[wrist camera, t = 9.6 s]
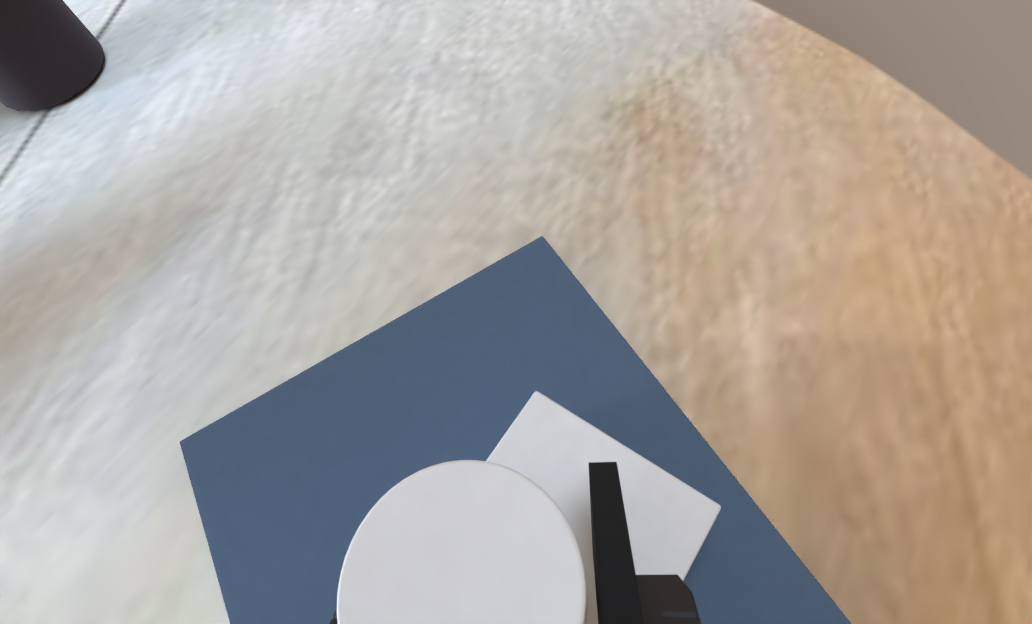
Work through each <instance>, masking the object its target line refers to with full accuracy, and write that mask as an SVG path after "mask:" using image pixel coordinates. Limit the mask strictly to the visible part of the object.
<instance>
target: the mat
mask: <svg viewBox="0 0 1032 624" xmlns="http://www.w3.org/2000/svg"><path fill="white" fill-rule="evenodd" d="M536 391H538V392H540V393H541V394H543V395H545V396H546V397H548V398H549V399H551V400H553V401H554V402H556V403H557V404H559V405H561V406H562V407H564V408H565V409H567V410H569V411H570V412H572V413H573V414H575V415H577V416H578V417H580V418H581V419H583V420H585V421H586V422H588V423H589V424H591V425H593V426H594V427H596V428H597V429H599V430H601V431H602V432H604V433H605V434H607V435H609V436H610V437H612V438H613V439H615V440H617V441H618V442H620V443H621V444H623V445H625V446H626V447H628V448H629V449H631V450H633V451H634V452H636V453H637V454H639V455H641V456H642V457H644V458H645V459H647V460H649V461H650V462H652V463H653V464H655V465H657V466H658V467H660V468H661V469H663V470H665V471H666V472H668V473H669V474H671V475H673V476H674V477H676V478H677V479H679V480H681V481H682V482H684V483H685V484H687V485H689V486H690V487H692V488H693V489H695V490H697V491H698V492H700V493H701V494H703V495H705V496H706V497H708V498H709V499H711V500H713V501H714V502H716V503H717V504H719V505H720V506H721V510H720V512H719V514H718V516H717V518H716V520H715V521H714V523H713V525H712V527H711V529H710V531H709V533H708V535H707V537H706V539H705V541H704V542H703V544H702V546H701V548H700V550H699V552H698V554H697V556H696V558H695V560H694V561H693V563H692V565H691V567H690V569H689V571H688V573H687V575H686V577H685V579H684V581H683V582H684V583H685V584H686V585H687V587H688V588H689V589H690V590H691V592H692V593H693V596H694V600H695V603H696V607H697V610H698V614H699V618H700V621H701V624H851V623H850V622H849V620H848V619H847V618H846V617H845V615H844V614H843V613H842V611H841V610H840V609H839V608H838V606H837V605H836V604H835V603H834V601H833V600H832V599H831V598H830V596H829V595H828V594H827V593H826V591H825V590H824V589H823V588H822V586H821V585H820V584H819V583H818V581H817V580H816V579H815V578H814V576H813V575H812V574H811V573H810V571H809V570H808V569H807V568H806V566H805V565H804V564H803V563H802V561H801V560H800V559H799V557H798V556H797V555H796V554H795V552H794V551H793V550H792V549H791V547H790V546H789V545H788V544H787V542H786V541H785V540H784V539H783V537H782V536H781V535H780V534H779V532H778V531H777V530H776V529H775V527H774V526H773V525H772V524H771V522H770V521H769V520H768V519H767V517H766V516H765V515H764V514H763V512H762V511H761V510H760V509H759V507H758V506H757V505H756V503H755V502H754V501H753V500H752V498H751V497H750V496H749V495H748V493H747V492H746V491H745V490H744V488H743V487H742V486H741V485H740V483H739V482H738V481H737V480H736V478H735V477H734V476H733V475H732V473H731V472H730V471H729V470H728V468H727V467H726V466H725V465H724V463H723V462H722V461H721V460H720V458H719V457H718V456H717V455H716V453H715V452H714V451H713V450H712V448H711V447H710V446H709V444H708V443H707V442H706V441H705V439H704V438H703V437H702V436H701V434H700V433H699V432H698V431H697V429H696V428H695V427H694V426H693V424H692V423H691V422H690V421H689V419H688V418H687V417H686V416H685V414H684V413H683V412H682V411H681V409H680V408H679V407H678V406H677V404H676V403H675V402H674V401H673V399H672V398H671V397H670V396H669V394H668V393H667V392H666V390H665V389H664V388H663V387H662V385H661V384H660V383H659V382H658V380H657V379H656V378H655V377H654V375H653V374H652V373H651V372H650V370H649V369H648V368H647V367H646V365H645V364H644V363H643V362H642V360H641V359H640V358H639V357H638V355H637V354H636V353H635V352H634V350H633V349H632V348H631V347H630V345H629V344H628V343H627V342H626V340H625V339H624V338H623V336H622V335H621V334H620V333H619V331H618V330H617V329H616V328H615V326H614V325H613V324H612V323H611V321H610V320H609V319H608V318H607V316H606V315H605V314H604V313H603V311H602V310H601V309H600V308H599V306H598V305H597V304H596V303H595V301H594V300H593V299H592V298H591V296H590V295H589V294H588V293H587V291H586V290H585V289H584V288H583V286H582V285H581V284H580V282H579V281H578V280H577V279H576V277H575V276H574V275H573V274H572V272H571V271H570V270H569V269H568V267H567V266H566V265H565V264H564V262H563V261H562V260H561V259H560V257H559V256H558V255H557V254H556V252H555V251H554V250H553V249H552V247H551V246H550V245H549V244H548V242H547V241H546V240H545V239H544V237H543V236H542V237H540V238H538V239H536V240H534V241H533V242H531V243H529V244H527V245H526V246H524V247H522V248H520V249H519V250H517V251H515V252H513V253H512V254H510V255H508V256H506V257H504V258H503V259H501V260H499V261H497V262H496V263H494V264H492V265H490V266H489V267H487V268H485V269H483V270H482V271H480V272H478V273H476V274H475V275H473V276H471V277H469V278H467V279H466V280H464V281H462V282H460V283H459V284H457V285H455V286H453V287H452V288H450V289H448V290H446V291H445V292H443V293H441V294H439V295H437V296H436V297H434V298H432V299H430V300H429V301H427V302H425V303H423V304H422V305H420V306H418V307H416V308H415V309H413V310H411V311H409V312H408V313H406V314H404V315H402V316H400V317H399V318H397V319H395V320H393V321H392V322H390V323H388V324H386V325H385V326H383V327H381V328H379V329H378V330H376V331H374V332H372V333H370V334H369V335H367V336H365V337H363V338H362V339H360V340H358V341H356V342H355V343H353V344H351V345H349V346H348V347H346V348H344V349H342V350H341V351H339V352H337V353H335V354H333V355H332V356H330V357H328V358H326V359H325V360H323V361H321V362H319V363H318V364H316V365H314V366H312V367H311V368H309V369H307V370H305V371H303V372H302V373H300V374H298V375H296V376H295V377H293V378H291V379H289V380H288V381H286V382H284V383H282V384H281V385H279V386H277V387H275V388H274V389H272V390H270V391H268V392H266V393H265V394H263V395H261V396H259V397H258V398H256V399H254V400H252V401H251V402H249V403H247V404H245V405H244V406H242V407H240V408H238V409H236V410H235V411H233V412H231V413H229V414H228V415H226V416H224V417H222V418H221V419H219V420H217V421H215V422H214V423H212V424H210V425H208V426H207V427H205V428H203V429H201V430H199V431H198V432H196V433H194V434H192V435H191V436H189V437H187V438H185V439H184V440H182V441H180V444H181V448H182V452H183V455H184V459H185V462H186V466H187V470H188V473H189V477H190V480H191V484H192V487H193V491H194V495H195V498H196V502H197V505H198V509H199V513H200V516H201V520H202V523H203V527H204V530H205V534H206V538H207V541H208V545H209V548H210V552H211V556H212V559H213V563H214V566H215V570H216V574H217V577H218V581H219V584H220V588H221V591H222V595H223V599H224V602H225V606H226V609H227V613H228V617H229V620H230V624H329V623H330V621H331V619H333V615H334V613H335V611H336V609H337V592H338V585H339V579H340V574H341V570H342V566H343V563H344V559H345V556H346V553H347V551H348V548H349V546H350V543H351V541H352V539H353V537H354V535H355V533H356V531H357V529H358V527H359V526H360V524H361V523H362V521H363V520H364V518H365V517H366V515H367V514H368V512H369V511H370V510H371V509H372V508H373V506H374V505H375V504H376V503H377V502H378V501H379V499H380V498H382V497H383V496H384V495H385V494H386V493H387V492H388V491H389V490H390V489H391V488H393V487H394V486H395V485H397V484H398V483H399V482H401V481H402V480H403V479H405V478H407V477H409V476H410V475H412V474H414V473H416V472H418V471H420V470H422V469H425V468H427V467H430V466H433V465H436V464H440V463H444V462H449V461H456V460H479V461H486V460H487V459H488V457H489V456H490V454H491V453H492V452H493V450H494V449H495V447H496V446H497V445H498V443H499V442H500V440H501V439H502V437H503V436H504V435H505V433H506V432H507V430H508V429H509V428H510V426H511V425H512V423H513V422H514V420H515V419H516V418H517V416H518V415H519V413H520V412H521V411H522V409H523V408H524V406H525V405H526V403H527V402H528V401H529V399H530V398H531V396H532V395H533V394H534V392H536Z"/></svg>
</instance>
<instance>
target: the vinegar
mask: <svg viewBox="0 0 1032 624" xmlns="http://www.w3.org/2000/svg"><path fill="white" fill-rule="evenodd" d="M103 60H104V53H103V49H102V46H101V44H100V43H99V42H98V41H97V40H96V38H95V37H94V36H93V35H92V34H91V33H90V31H89V30H88V29H87V28H86V27H85V26H84V25H83V23H82V22H81V21H80V20H79V19H78V18H77V16H76V15H75V14H74V13H73V12H72V11H71V10H70V8H69V7H68V6H67V5H66V4H65V3H64V1H63V0H0V102H1V103H2V104H4V105H6V106H7V107H10V108H13V109H16V110H24V111H36V110H41V109H45V108H50V107H53V106H55V105H58V104H60V103H62V102H65V101H67V100H69V99H70V98H72V97H73V96H75V95H77V94H78V93H80V92H81V91H82V90H84V89H85V88H86V87H87V86H88V85H89V84H90V83H91V82H92V81H93V80H94V79H95V77H96V76H97V74H98V73H99V72H100V70H101V67H102V63H103Z"/></svg>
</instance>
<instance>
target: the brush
mask: <svg viewBox="0 0 1032 624" xmlns="http://www.w3.org/2000/svg"><path fill="white" fill-rule="evenodd" d="M590 462H617V467H618V473H619V479H620V485H621V491H622V497H623V503H624V509H625V514H626V520H627V526H628V532H629V538H630V544H631V550H632V556H633V562H634V568H635V573H636V575H678V576H679V577H680V578H681V579H682V580H683V581H684V579H685V577H686V575H687V573H688V571H689V569H690V567H691V565H692V563H693V561H694V560H695V558H696V556H697V554H698V552H699V550H700V548H701V546H702V544H703V542H704V541H705V539H706V537H707V535H708V533H709V531H710V529H711V527H712V525H713V523H714V521H715V520H716V518H717V516H718V514H719V512H720V510H721V506H720V505H719V504H717V503H716V502H714V501H713V500H711V499H709V498H708V497H706V496H705V495H703V494H701V493H700V492H698V491H697V490H695V489H693V488H692V487H690V486H689V485H687V484H685V483H684V482H682V481H681V480H679V479H677V478H676V477H674V476H673V475H671V474H669V473H668V472H666V471H665V470H663V469H661V468H660V467H658V466H657V465H655V464H653V463H652V462H650V461H649V460H647V459H645V458H644V457H642V456H641V455H639V454H637V453H636V452H634V451H633V450H631V449H629V448H628V447H626V446H625V445H623V444H621V443H620V442H618V441H617V440H615V439H613V438H612V437H610V436H609V435H607V434H605V433H604V432H602V431H601V430H599V429H597V428H596V427H594V426H593V425H591V424H589V423H588V422H586V421H585V420H583V419H581V418H580V417H578V416H577V415H575V414H573V413H572V412H570V411H569V410H567V409H565V408H564V407H562V406H561V405H559V404H557V403H556V402H554V401H553V400H551V399H549V398H548V397H546V396H545V395H543V394H541V393H540V392H538V391H536V392H534V394H533V395H532V396H531V398H530V399H529V401H528V402H527V403H526V405H525V406H524V408H523V409H522V411H521V412H520V413H519V415H518V416H517V418H516V419H515V420H514V422H513V423H512V425H511V426H510V428H509V429H508V430H507V432H506V433H505V435H504V436H503V437H502V439H501V440H500V442H499V443H498V445H497V446H496V447H495V449H494V450H493V452H492V453H491V454H490V456H489V457H488V459H487V460H486V461H479V460H456V461H449V462H444V463H440V464H436V465H433V466H430V467H427V468H425V469H422V470H420V471H418V472H416V473H414V474H412V475H410V476H409V477H407V478H405V479H403V480H402V481H401V482H399V483H398V484H397V485H395V486H394V487H393V488H391V489H390V490H389V491H388V492H387V493H386V494H385V495H384V496H383V497H382V498H380V499H379V501H378V502H377V503H376V504H375V505H374V506H373V508H372V509H371V510H370V511H369V512H368V514H367V515H366V517H365V518H364V520H363V521H362V523H361V524H360V526H359V527H358V529H357V531H356V533H355V535H354V537H353V539H352V541H351V543H350V546H349V548H348V551H347V553H346V556H345V559H344V563H343V566H342V570H341V574H340V579H339V585H338V592H337V624H598V613H597V600H596V587H595V574H594V561H593V548H592V528H591V506H590V485H589V463H590Z"/></svg>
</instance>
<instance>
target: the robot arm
mask: <svg viewBox="0 0 1032 624" xmlns="http://www.w3.org/2000/svg"><path fill="white" fill-rule="evenodd" d="M589 485H590V506H591V528H592V548H593V561H594V574H595V587H596V600H597V613H598V624H701V621H700V618H699V614H698V610H697V607H696V603H695V600H694V596H693V593H692V592H691V590H690V589H689V588H688V587H687V585H686V584H685V583H684V582H683V580H682V579H681V578H680V577H679V576H678V575H636V573H635V568H634V562H633V556H632V550H631V544H630V538H629V532H628V526H627V520H626V514H625V509H624V503H623V497H622V491H621V485H620V479H619V473H618V467H617V462H590V463H589ZM329 624H337V609H336V611H335V613H334V615H333V619H331V621H330V623H329Z"/></svg>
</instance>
